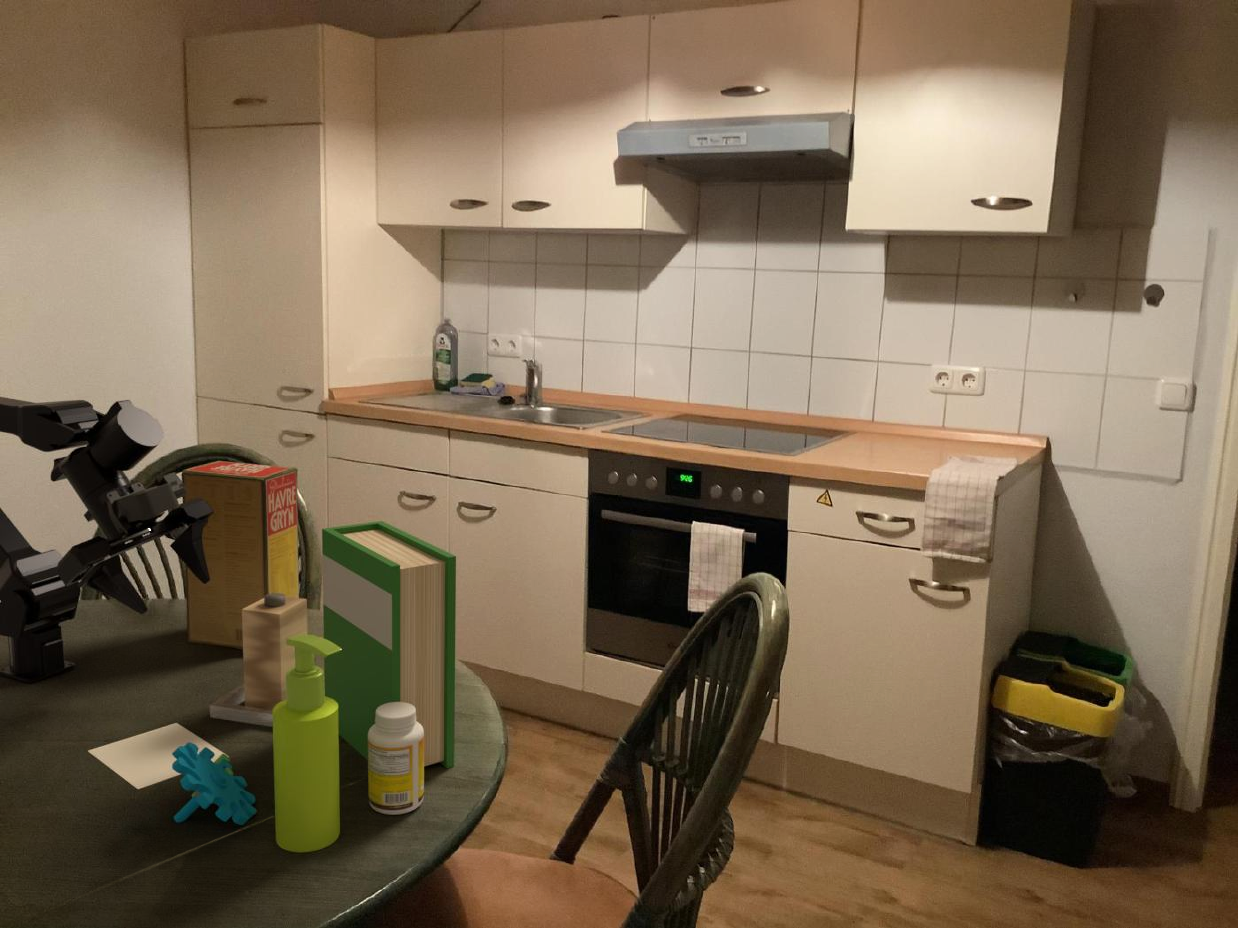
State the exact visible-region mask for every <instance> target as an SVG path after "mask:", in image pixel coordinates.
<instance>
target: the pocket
mask: <svg viewBox="0 0 1238 928" xmlns="http://www.w3.org/2000/svg"><path fill="white" fill-rule="evenodd" d="M324 696H325V681H324ZM243 702H245V691H244V682H243V683H241V684H240V685H238V686H237V687H235V688H234V689H232V690H231V691H229V692H227V693H226V694H225V695H223V696H222V697H220V698H218V699H216V701H213V702H212V703H210V704H209V717H210V718H214V719H217V720H218V719H220V720H225V721H226V720H227V721H233V722H237V723H238V722H239V723H244V724H252V725H259V726H266V727H271V728H273V710H267V709H260V708H253V707H247V706H245V705H241V703H243Z"/></svg>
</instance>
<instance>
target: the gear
mask: <svg viewBox="0 0 1238 928" xmlns="http://www.w3.org/2000/svg"><path fill="white" fill-rule="evenodd" d="M198 750H199V749H198V747H197V745H195V744H193V743H190V742H188V743H187V744H186V745H185V746H180V747H178V748H177V749H176V750H175V751H174V752H173V753H172V755H173V756H174V757H175V758H176V759H177V760H176V761H175V762H174V763H173V764H172V769H173V770H174V771H176V772H178V773H180V775H183V777H182V778H181V779H179V781H180V785H181V786H182V788H183V789H184V790H185V791H187V792H188V791H194V792H192V794H191V799H190V800H189V801H187V803H186V804H185V805H184V806H182V808H181V809H180V810H179V811H178V812H177V813H176V814H175V815H174V816H173V820H174V821H175V823H181V822H184V821H186V820H187V819H188V818H189V817H190V816H191V815H192V814H193V813H194V812H195V811H196V810H197V809H198V808H199V807H201V808H202V809H204V810H207V808H209V807H210V806H211V805H212V804H215V805H217V806H218V809H217V810H216V811H215V813H214V814H215V816H216V817H217V818H218V819H220V820H221V821H222V822H227V821H228V820H229V819H230V818H231V819H232V821H233V822H234V824H236V825H238V826H239V825H240V826H243V825H245V823H247V821H248V820H249V819H251V818H253V816H255V814H257V812H258V811H257V809H256V808H255V807H254V806H253V805H254V804H255V803H256V796H255V795H254V794H253V793H251V792H249V791H247V790H245V788H247V787H248V784H247V782H246V779H245V778H244V777H243V776H241V775H238V776H237V775H234V772H233V766H232V765H231V764H230V756H229V755H228V754H226V753H224V754H222V755H221V756H220V757H219V758H218V759H217V760H216V761H215V762H213V761H212V760H211V759H212V758H213V757H214V756H215V754H214V753H213V752H212V751H211V750H210V749H208V748H207V747H205V748H204V749H203V750H202V751H201V752H200V753H199V755H198V753H197V752H198ZM225 754H226V755H225ZM228 756H229V757H228Z"/></svg>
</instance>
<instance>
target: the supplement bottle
mask: <svg viewBox="0 0 1238 928" xmlns="http://www.w3.org/2000/svg"><path fill="white" fill-rule="evenodd" d="M375 723H376V724H374V725H373V726H372V727H371V728H370V729H369V732H368V760H367V769H368V770H367V772H368V773H367V775H368V776H367V777H368V780H367V781H368V782H367V783H368V803H369V805H370V806H371V809H373V810H374V811H376V812H377V813H380V814H384V815H389V816H390V815H392V816H393V815H396V816H397V815H402V814H407V813H409V812H412V811H414V810H416V809H417V808H418V807H419V806H420V805H421V804H422V803H423V801H424V798H425V766H424V730H423V727H422V725H421V724H420V723H418V722H417V721H416V709H415V707H414V706H413V705H411V704H409V703H405V702H391V703H386V704H383V705H381V706H379V707H378V708H377V709H376V717H375Z"/></svg>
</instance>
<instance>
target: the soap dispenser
mask: <svg viewBox="0 0 1238 928" xmlns="http://www.w3.org/2000/svg"><path fill="white" fill-rule="evenodd" d="M286 645H290V646H294V647H295V667H293V668H292V669H290V670H288V671H287V673H286V700H284V701H281V702H280V703H278V704H277V705H276V706H275V707H274V708H273V727H272V742H273V743H272V745H273V746H272V747H273V780H274V781H273V782H274V783H273V785H274V813H275V814H274V816H275V817H274V818H275V820H274V823H275V842H276V844H277V845H278V846H279V847H280V848H281V849H283V850H284V851H288V852H292V853H311V852H316V851H318V850H322V849H324V848H327V847H328V846H330V845H333V844H334V843H335V842H336V841H337V840H338V838H339V837H340V833H341V821H340V819H341V815H340V814H341V813H340V812H341V811H340V807H341V806H340V805H341V804H340V803H341V802H340V800H341V799H340V748H339V747H340V744H339V743H340V738H339V736H340V735H339V726H338V703H337V702H336V701H335V700H334V699H332V698H329V697H326V696H324V668H322V667H320V666H318V665H315V654H316V655H318V656H319V657H321V658H323V659H324V658H326V657H328V656H331V655H333V654H336V653H339V652H340V651H341V650H342V649H341V648H340V647H339V646H337V645H336V644H334V643H332V642H331V641H329V640H327V639H324V637H322V636H321V637H320V636H318V635H313V634H303V633H302V634H299V635H296V636H293V637H290V638H287V639H286Z"/></svg>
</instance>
